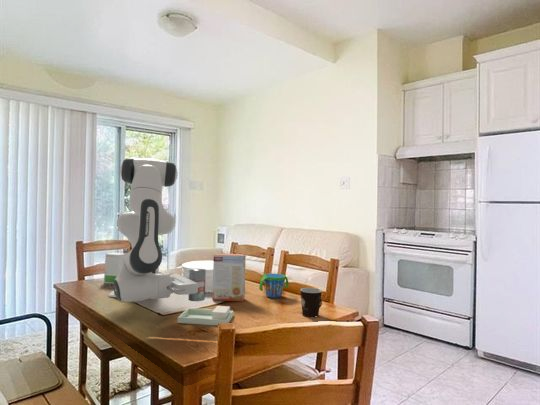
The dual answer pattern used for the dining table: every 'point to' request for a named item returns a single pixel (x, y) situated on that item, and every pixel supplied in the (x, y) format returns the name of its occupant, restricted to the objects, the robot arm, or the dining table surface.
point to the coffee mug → (310, 301)
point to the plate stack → (201, 265)
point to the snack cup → (273, 284)
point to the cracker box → (229, 277)
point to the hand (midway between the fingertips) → (199, 281)
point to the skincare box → (112, 266)
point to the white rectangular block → (221, 312)
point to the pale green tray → (201, 317)
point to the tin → (197, 276)
